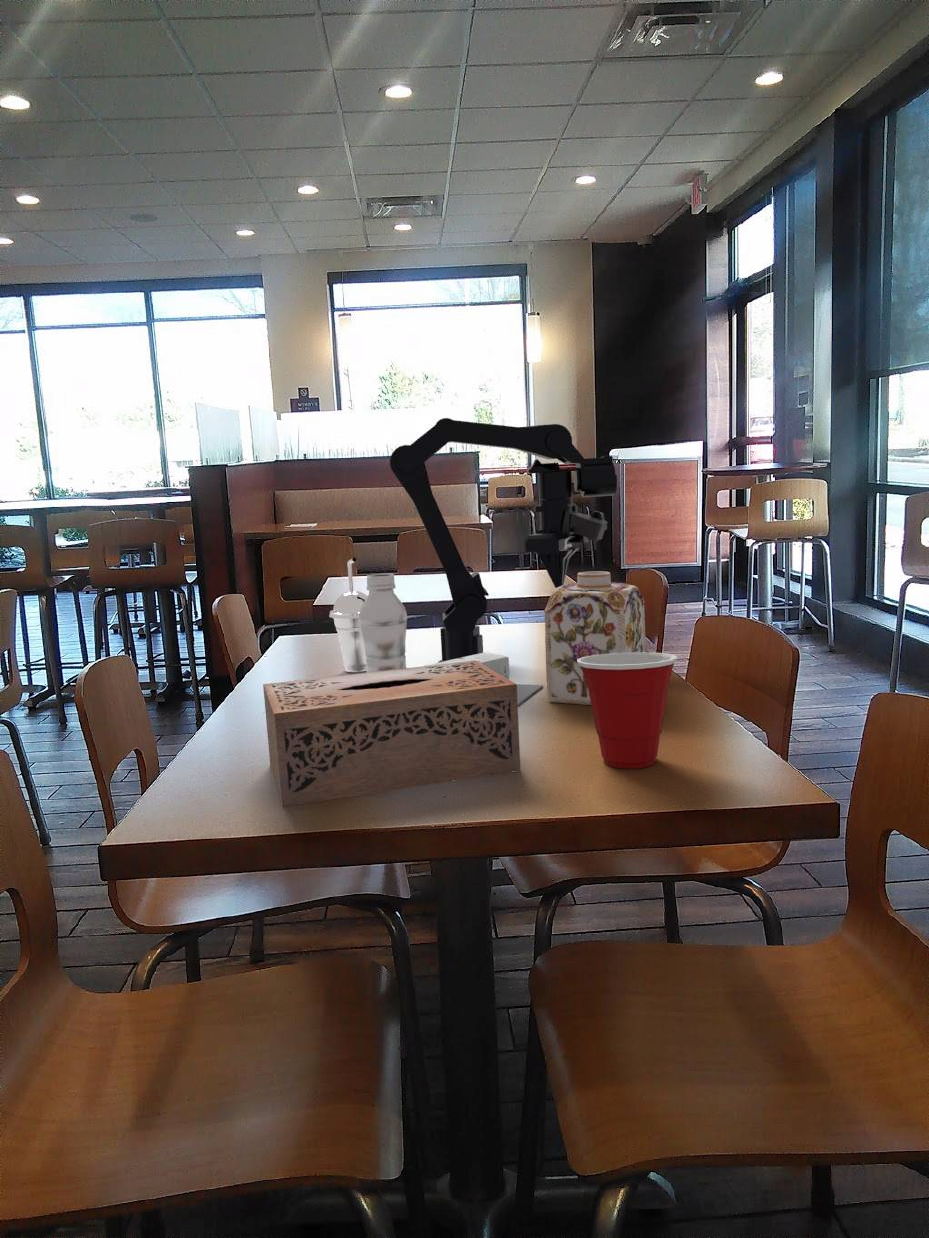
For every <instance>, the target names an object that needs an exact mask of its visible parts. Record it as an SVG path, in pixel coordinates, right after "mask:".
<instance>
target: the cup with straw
mask: <svg viewBox="0 0 929 1238" xmlns="http://www.w3.org/2000/svg"><path fill="white" fill-rule="evenodd" d="M356 561H357V558H356V557H352V558H351V559H349V560H348V561H347V577H348V587H349V588H348V590H349V591H346V592H344V593H342V594H340V595H339V596H338V597H337V598H336V600H335V602H334V605H333V609H332V610H330V611H329V615H328V616H329V618H331V619H333V622H334V626H335V630H336V632H337V637H338V641H339V647H340V651H341V657H342V664H343V666H344V668H345V669H344V671H345V672H346V673H364V672H367V664H366V656H365V648H364V642H363V637H362V633H361V628H360V623H359V612H360V609H361V607H362V605H363V603H364V601H365V600H366V598H367V597H368V595H367V594H365V593H364V592H361V591H359V590H357V591H356V590H354V581H353V579H354V577H353V567H352V564H354V563H355V562H356Z"/></svg>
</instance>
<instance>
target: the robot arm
mask: <svg viewBox="0 0 929 1238" xmlns="http://www.w3.org/2000/svg"><path fill="white" fill-rule="evenodd" d="M449 443H450V444H451V443H456V444H463V445H464V444H465V445H474V446H482V447H483V446H484V447H492V448H503V449H510V450H511V449H512V450H516V451H519V452H523V453H526V454H529V455H530V456H531V455H532V456H535V457H538V458H542V459H545V460H557V461H559V462H561V463H563V464H564V465H575V466H576V467H572V468H571V467H570V468H569V467H568V468H561V467H560V464H559V463H558V462H548V463H547V462H545V463H542V462H541V461H540V460H539V459H533V462H532V464H531V466H529V468H527V469H526V473H527V474H530V475H531V474H537V477H538V479H537V480H538V483H537V484H538V505H536V506H535V512H536V513H539V528H540V529H536V533H533V534H528V535H527V536H525V538H524V539H523V540H522V542H523V543H522V544H523V546H522V547H523V553H535V555H538V557H539V560H540V562H541V563H542V564H543V566H544V569H545V570H546V572H547V574H548V576H549V578H550V580H551V582H552V584H553V586H554V587H555V588H554V589H556V588H557V587H560V586H563V585H565V582H566V581H565V580H566V576H567V571H568V567H569V561H570V560H571V557H572V556H573V555H574V554H575V553H576V552H577V551H578V550H579V549H580V547H579V546H573V545H572V543H573V544H574V543H581V544H587V543H589V541H593V542H598V541H599V540H600V541H601V540H602V539H603V537H604V534H605V531H606V530H607V529H608V521H607V520H605V515H604V514H605V513H604V512H601V511H598V510H594V511H592V512H591V514H589V515H588V514H586V513H581V512H579V508H578V505H577V504H576V503H573V487H574V491H575V492H576V493H580V495H581V498H590V497H591V498H592V497H593V498H594V497H596V498H597V497H608V496H609V497H611V496H615V495H616V494H617V489H618V475H617V474H616V468H615V464H614V457H613V456H612V455H606V456H605V455H604V456H600V457H591V458H585V457H584V456H583V455H582V453H581V452H580V451H579V450H578V449H577V448H576V446H575V445H574V443H573V437H572V434H571V432H570V431H569V430H568V428H567V427H566V426H565V425H562V424H559V423H553V424H538V425H529V426H528V425H527V426H512V425H511V426H510V425H501V424H493V423H482V422H474V421H466V420H465V421H464V420H457V419H456V420H455V419H452V418H449V417H443V418H441V419H439V420H437V421H436V423H435V424H434V426H432V427H431V428H430V429H429V430H427V431H426V432H425V433H423V434H421V436H420V437H418V438H417V439H416V440H415V441H413V442H412V443H411V444H403V445H400V446H398V447H397V448H395V449H394V450H393V452H392V453H391V455H390V458H389V465H390V469H391V471H392V472H393V474H394V476H395V477H396V478H397V481H398V482H399V483H400V484H401V486H402V488H403V489H404V491H406V493H407V495H408V496H409V497H410V499H411V501H412V502H413V504H414V506H415V508H416V510H417V513H418V515H419V517H420V520H421V522H422V524H423V526H424V528H425V531H426V533H427V534H428V537H429V539H430V540H429V541H430V542H431V544H432V546H433V549H434V550H435V553H436V555H437V558H438V559H439V562H440V564H441V567H442V568H443V570H444V572H445V575H446V579H447V583H448V587H449V592H450V595H451V600H452V603H450V605H449V606H448V607H447V608H446V610H444V611H443V612H442V621H443V627H441V628H440V629H439V630H440V631H439V632H440V646H441V659H440V660H438V662H437V663H439V662H443V661H448V660H452V659H457V658H462V657H466V656H471V655H475V654H480V653H484V640H483V639H484V638H483V635H482V634H481V633H480V632H481V631H480V626H479V625H477V622H478V620H479V619H481V618H482V617H483V616H484V615H485V614H486V612H487V609H488V601H487V598H486V597H488V596H490V594H489V593H488V590H487V589H486V588H485V587H484V586H483V583H482V578H481V575H480V572H479V571H478V570H475V571H474V572H472V573H471V572H470V571H469V569H468V568H467V566H466V565H465V564H464V561H463V559H462V557H461V555H460V552H459V551H458V548H457V546H456V544H455V543H456V542H455V541H454V539H453V537H452V534H451V533H450V530H449V528H448V525H447V523H446V521H445V519H444V517H443V514H442V511H441V510H440V507H439V505H438V503H437V501H436V499H435V497H434V493H433V491H432V487H431V483H430V478H429V474H428V470H427V467H426V462H427V461H428V460H429V459H431V458H432V457H433V456H434V455H435V454H437V453H438V452H439V451H440V450H441V449H442V448H443V447H444V446H446V445H447V444H449ZM572 472H573V476H572ZM572 477H573V480H572ZM572 483H573V484H572ZM572 485H573V486H572Z"/></svg>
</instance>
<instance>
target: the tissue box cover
mask: <svg viewBox="0 0 929 1238" xmlns="http://www.w3.org/2000/svg"><path fill="white" fill-rule="evenodd" d="M517 684H518V683H515V682H514V681H512V680H510V678H509V679H507V678H505V677H503V676H502V675H500V674H498V673H497V672H495V671H493V670H492V669H490V668H488V667H486V666H485V665H483V664H481V663H480V662H478V661H467V662H458V663H449V664H441V665H432V666H426V665H423V666H415V667H414V666H413V667H406V668H405V669H396V670H387V671H378V672H369V673H367V672H359V673H351V674H344V675H335V676H326V677H325V676H324V677H316V678H307V679H298V680H290V681H281V682H272V683H263V685H262V687H263V701H264V708H265V719H266V720H265V722H266V732H267V744H268V753H269V755H268V756H269V757H268V758H269V766H270V769H271V772H272V776H273V779H274V783H275V787H276V791H277V794H278V797H279V800H280V804H281V807H282V808H283V807H288V806H296V805H297V806H298V805H303V804H310V803H317V802H321V801H323V802H324V801H328V800H330V801H331V800H336V799H342V798H349V797H355V796H363V795H369V794H370V795H371V794H376V793H382V792H389V791H396V790H403V789H410V788H415V787H422V786H429V785H430V786H431V785H436V784H441V783H442V782H443V783H447V782H448V781H450V782H453V781H452V780H456V781H462V780H469V779H474V778H475V779H476V778H481V777H487V776H488V775H489V776H494V775H501V773H503V774H508V773H507V772H509V773H513V772H512V771H516V772H521V754H520V753H521V749H520V748H521V747H520V735H519V734H520V731H519V729H520V728H519V706H518V700H517ZM443 783H442V784H443Z"/></svg>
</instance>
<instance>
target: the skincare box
mask: <svg viewBox="0 0 929 1238" xmlns="http://www.w3.org/2000/svg"><path fill="white" fill-rule="evenodd" d="M467 661H478V662H480V663H481V664H483V665H485V666H486V667H488V668H490V669H492V670H493V671H495V672H497V673H498V674H500V675H502V676H503V677H505V678H507V679H509V680H510V658H509V657H508V656H507V655H503V654H501V653H500V654H499V653H491V652H483V653H480V654H475V655H471V656H466V657H462V658H457V659H452V660H448V661H443V662H439V663H438V662H436V663H431V664H427V665H425V666H432V665H441V664H449V663H458V662H467Z"/></svg>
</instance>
